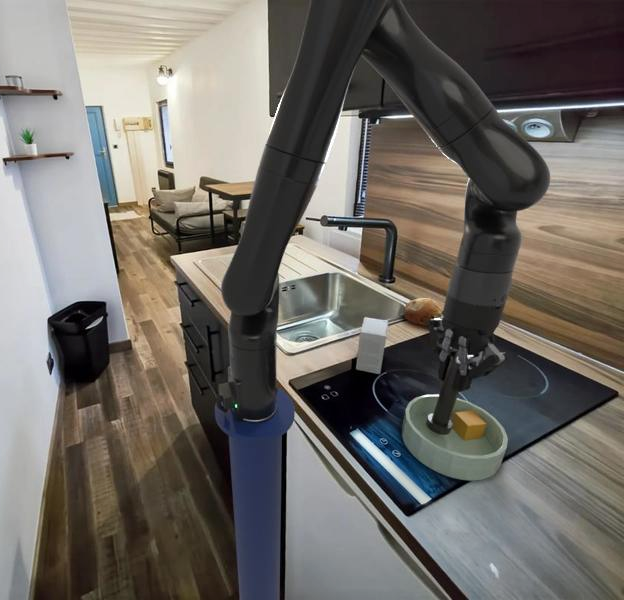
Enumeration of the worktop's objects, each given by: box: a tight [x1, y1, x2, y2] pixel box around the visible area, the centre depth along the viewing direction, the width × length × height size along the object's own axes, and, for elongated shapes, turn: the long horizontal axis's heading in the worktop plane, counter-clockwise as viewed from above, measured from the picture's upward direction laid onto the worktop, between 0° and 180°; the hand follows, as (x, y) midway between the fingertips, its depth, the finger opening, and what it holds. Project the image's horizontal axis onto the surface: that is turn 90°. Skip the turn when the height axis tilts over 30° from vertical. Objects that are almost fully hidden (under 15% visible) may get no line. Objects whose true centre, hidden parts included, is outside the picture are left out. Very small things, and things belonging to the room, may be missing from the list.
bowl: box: [401, 394, 509, 482], centre depth 65 cm, size 15×15×5 cm
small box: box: [355, 316, 389, 375], centre depth 87 cm, size 8×6×10 cm
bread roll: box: [403, 297, 443, 327], centre depth 107 cm, size 10×10×8 cm
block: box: [452, 410, 486, 440], centre depth 66 cm, size 4×4×4 cm
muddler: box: [426, 356, 460, 435], centre depth 64 cm, size 4×4×14 cm
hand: (452, 384), depth 63 cm, fingers closed on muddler, 2 cm apart
